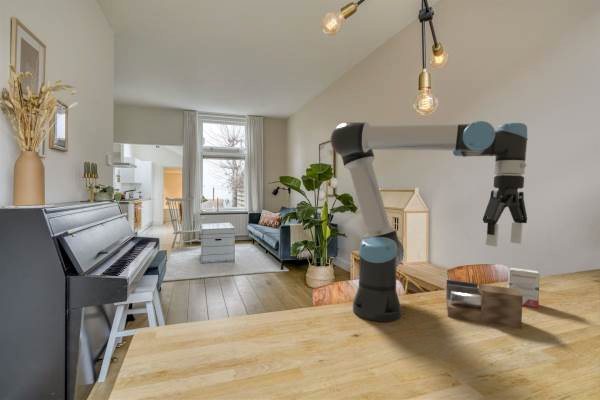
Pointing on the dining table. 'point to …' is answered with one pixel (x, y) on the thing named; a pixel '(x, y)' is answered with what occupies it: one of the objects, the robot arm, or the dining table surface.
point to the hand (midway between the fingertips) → (504, 244)
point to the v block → (460, 287)
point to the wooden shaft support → (492, 307)
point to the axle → (466, 299)
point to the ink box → (525, 285)
